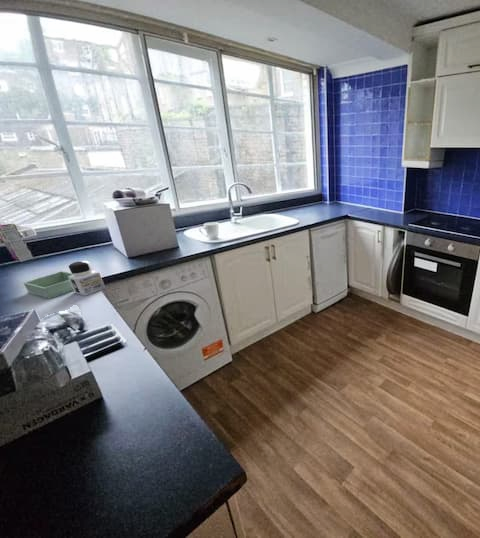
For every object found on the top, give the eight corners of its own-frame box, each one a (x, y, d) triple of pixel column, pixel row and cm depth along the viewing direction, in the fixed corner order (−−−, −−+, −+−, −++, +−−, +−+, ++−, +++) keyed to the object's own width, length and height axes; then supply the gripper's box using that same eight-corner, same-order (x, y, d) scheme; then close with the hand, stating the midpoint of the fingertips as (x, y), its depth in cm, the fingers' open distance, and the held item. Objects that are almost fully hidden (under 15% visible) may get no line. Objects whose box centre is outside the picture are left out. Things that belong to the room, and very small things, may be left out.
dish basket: (49, 298, 121) (44, 288, 119) (28, 292, 126) (23, 282, 124) (86, 285, 132) (82, 275, 130) (66, 280, 138) (61, 271, 136)
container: (85, 295, 122) (72, 267, 117) (74, 293, 125) (61, 264, 120) (106, 287, 129) (94, 260, 124) (95, 285, 131) (83, 258, 126)
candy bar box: (12, 258, 131) (-9, 222, 124) (27, 254, 135) (8, 219, 128) (19, 262, 126) (-3, 226, 119) (35, 258, 130) (14, 222, 123)
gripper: (-43, 235, 122) (-28, 238, 118) (23, 223, 140) (38, 226, 135) (-35, 250, 125) (-20, 253, 120) (29, 236, 142) (44, 239, 137)
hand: (12, 238), depth 128 cm, fingers closed on candy bar box, 5 cm apart
